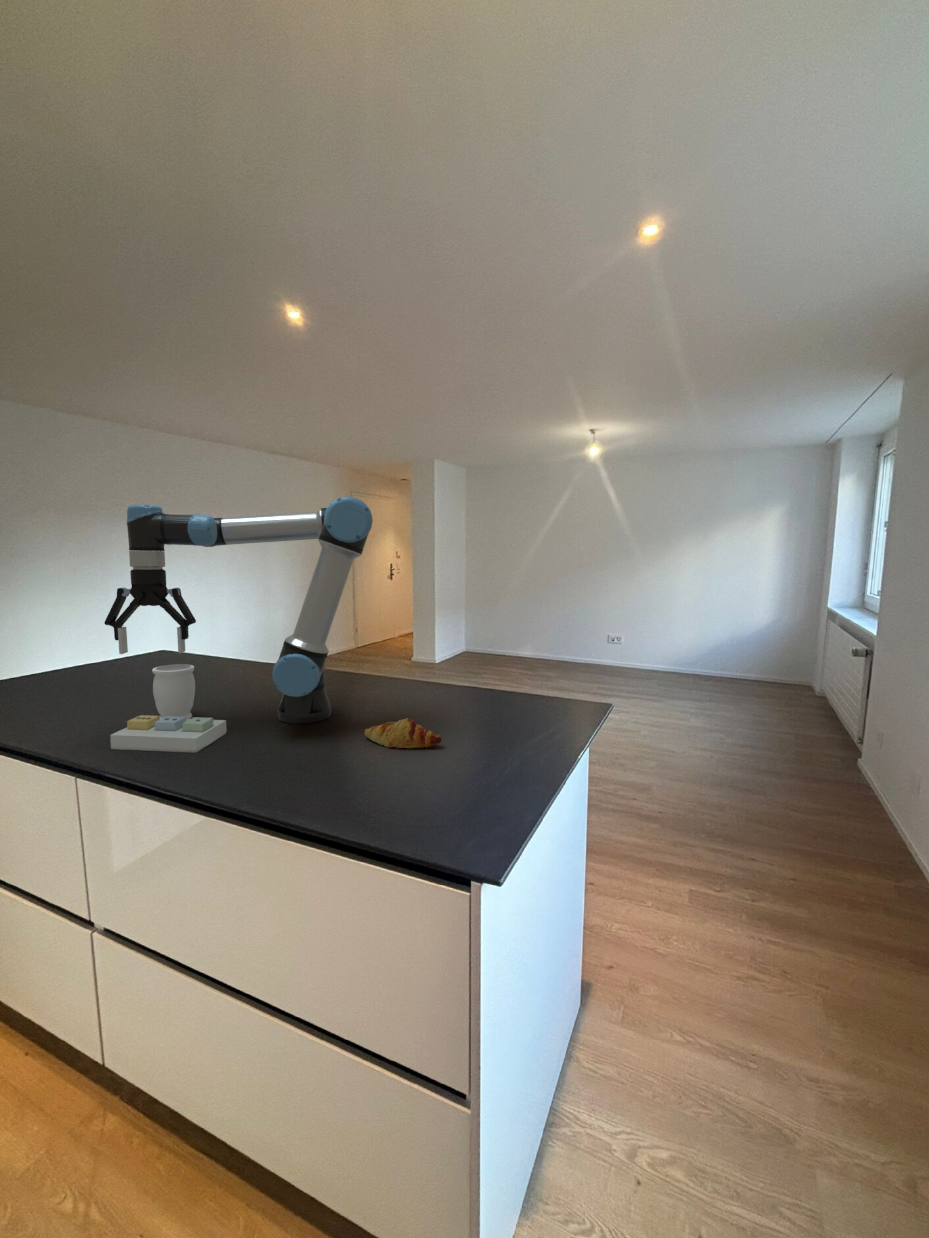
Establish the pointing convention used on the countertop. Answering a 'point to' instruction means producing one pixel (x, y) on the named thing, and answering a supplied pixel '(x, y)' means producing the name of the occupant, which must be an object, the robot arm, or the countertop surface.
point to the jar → (174, 690)
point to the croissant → (402, 735)
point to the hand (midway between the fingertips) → (153, 652)
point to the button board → (167, 739)
